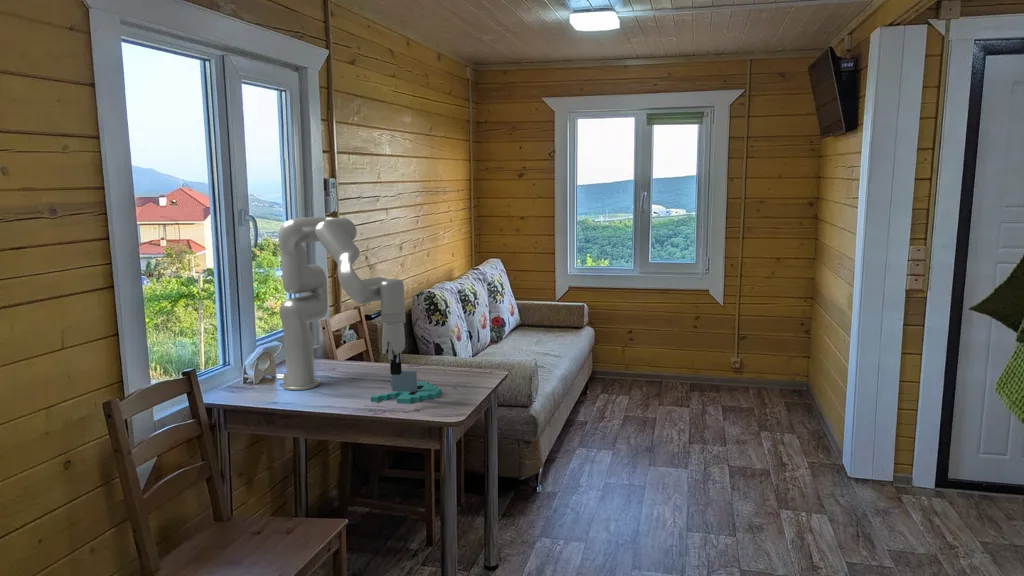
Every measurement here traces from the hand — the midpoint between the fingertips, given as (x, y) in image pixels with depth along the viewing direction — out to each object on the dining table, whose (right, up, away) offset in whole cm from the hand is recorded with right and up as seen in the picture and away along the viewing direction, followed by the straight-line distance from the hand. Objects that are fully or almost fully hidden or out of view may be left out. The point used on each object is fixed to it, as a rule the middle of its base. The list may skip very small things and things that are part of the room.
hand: (396, 374), depth 224 cm
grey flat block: (+5, -3, +9) cm, 11 cm away
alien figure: (+3, -9, +11) cm, 15 cm away
